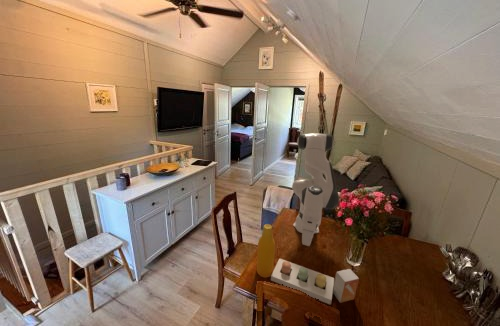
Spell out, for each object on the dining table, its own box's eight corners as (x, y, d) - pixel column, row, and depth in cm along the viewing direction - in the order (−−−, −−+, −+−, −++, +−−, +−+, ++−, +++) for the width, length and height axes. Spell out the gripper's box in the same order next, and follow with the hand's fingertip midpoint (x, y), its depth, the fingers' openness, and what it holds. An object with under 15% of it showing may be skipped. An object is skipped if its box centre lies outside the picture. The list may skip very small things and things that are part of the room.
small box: (340, 303, 99) (345, 282, 95) (331, 291, 105) (335, 271, 101) (354, 299, 101) (359, 278, 97) (345, 288, 107) (349, 268, 103)
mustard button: (316, 279, 109) (317, 272, 108) (325, 282, 107) (326, 275, 106) (314, 286, 105) (316, 279, 104) (324, 289, 103) (325, 282, 102)
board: (279, 262, 123) (279, 258, 122) (333, 282, 110) (334, 278, 109) (270, 280, 110) (271, 275, 110) (330, 304, 98) (331, 300, 97)
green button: (299, 272, 113) (300, 266, 111) (307, 276, 111) (308, 269, 109) (297, 279, 109) (298, 272, 107) (306, 282, 107) (307, 275, 105)
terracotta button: (283, 266, 116) (283, 260, 115) (291, 269, 114) (291, 263, 113) (280, 272, 112) (281, 266, 111) (288, 275, 110) (289, 269, 109)
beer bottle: (263, 281, 110) (266, 234, 101) (253, 269, 117) (255, 224, 108) (276, 273, 115) (280, 228, 106) (265, 262, 122) (268, 219, 113)
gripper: (309, 208, 114) (306, 230, 118) (300, 226, 96) (297, 252, 100) (321, 211, 111) (317, 233, 115) (314, 230, 93) (311, 256, 97)
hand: (308, 242), depth 107 cm, fingers closed
